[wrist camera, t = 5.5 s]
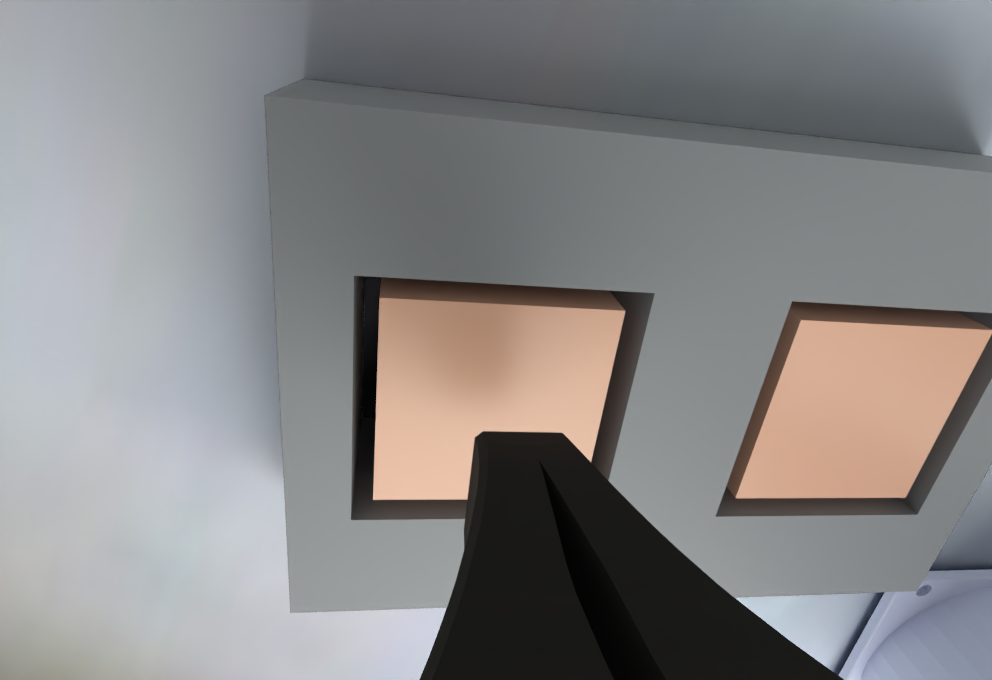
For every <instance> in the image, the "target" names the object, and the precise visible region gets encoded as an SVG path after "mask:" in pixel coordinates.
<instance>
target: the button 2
mask: <svg viewBox="0 0 992 680" xmlns="http://www.w3.org/2000/svg"><path fill="white" fill-rule="evenodd" d="M991 335H992V329H990V328H988V327H986V326H984V325H982V324H980V323H978V322H976V321H974V320H972V319H970V318H968V317H966V316H964V315H962V314H960V313H958V312H956V311H949V310H932V309H915V308H898V307H881V306H864V305H846V304H829V303H812V302H795V301H792V303H791V306H790V309H789V312H788V314H787V317H786V320H785V323H784V326H783V328H782V331H781V334H780V337H779V340H778V343H777V345H776V348H775V351H774V354H773V357H772V359H771V362H770V365H769V368H768V371H767V373H766V376H765V379H764V382H763V385H762V387H761V390H760V393H759V396H758V399H757V401H756V404H755V407H754V410H753V413H752V416H751V418H750V421H749V424H748V427H747V430H746V432H745V435H744V438H743V441H742V444H741V446H740V449H739V452H738V455H737V458H736V460H735V463H734V466H733V469H732V472H731V474H730V477H729V480H728V483H727V487H728V489H729V490H730V492H731V493H732V494H733V496H734V497H735V498H906V496H907V494H908V492H909V490H910V488H911V487H912V485H913V483H914V481H915V479H916V477H917V475H918V473H919V471H920V469H921V468H922V466H923V464H924V462H925V460H926V458H927V456H928V454H929V452H930V450H931V449H932V447H933V445H934V443H935V441H936V439H937V437H938V435H939V433H940V431H941V430H942V428H943V426H944V424H945V422H946V420H947V418H948V416H949V414H950V412H951V411H952V409H953V407H954V405H955V403H956V401H957V399H958V397H959V395H960V394H961V392H962V390H963V388H964V386H965V384H966V382H967V380H968V378H969V376H970V375H971V373H972V371H973V369H974V367H975V365H976V363H977V361H978V359H979V357H980V356H981V354H982V352H983V350H984V348H985V346H986V344H987V342H988V340H989V338H990V337H991Z"/></svg>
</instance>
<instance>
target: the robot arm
mask: <svg viewBox="0 0 992 680" xmlns="http://www.w3.org/2000/svg"><path fill="white" fill-rule="evenodd" d="M420 680H992V569H985V570H949V571H928V573H927V575H926V577H925V578H924V580H923V582H922V583H921V585H920V587H919V588H918V590H917V591H907V592H884V594H883V596H882V598H881V599H880V601H879V603H878V605H877V607H876V608H875V610H874V612H873V614H872V616H871V617H870V619H869V621H868V623H867V625H866V626H865V628H864V630H863V632H862V634H861V635H860V637H859V639H858V641H857V643H856V644H855V646H854V648H853V650H852V652H851V653H850V655H849V657H848V659H847V661H846V662H845V664H844V666H843V668H842V670H841V671H840V673H839V675H837V674H835V673H834V672H832V671H831V670H829V669H828V668H826V667H825V666H824V665H822V664H821V663H820V662H818V661H817V660H815V659H814V658H813V657H811V656H810V655H808V654H807V653H806V652H804V651H803V650H801V649H800V648H799V647H797V646H796V645H795V644H793V643H792V642H791V641H789V640H788V639H787V638H785V637H784V636H783V635H781V634H780V633H779V632H778V631H776V630H775V629H774V628H772V627H771V626H770V625H769V624H767V623H766V622H765V621H763V620H762V619H761V618H759V617H758V616H757V615H756V614H754V613H753V612H752V611H750V610H749V609H748V608H747V607H745V606H744V605H743V604H741V603H740V602H739V601H738V600H736V599H735V598H734V597H733V596H732V595H730V594H729V593H728V592H727V591H726V590H724V589H723V588H722V587H721V586H720V585H718V584H717V583H716V582H715V581H714V580H712V579H711V578H710V577H709V576H708V575H707V574H706V573H705V572H703V571H702V570H701V569H700V568H699V567H698V566H697V565H696V564H694V563H693V562H692V561H691V560H690V559H689V558H688V557H686V556H685V555H684V554H683V553H682V552H681V551H680V550H679V549H677V548H676V547H675V546H674V545H673V544H672V543H671V542H670V541H669V540H668V539H667V538H666V537H665V536H664V535H662V534H661V533H660V532H659V531H658V530H657V529H656V528H655V527H654V526H653V525H652V524H651V523H650V522H649V521H648V520H647V519H646V518H645V517H644V516H643V515H642V514H641V513H640V512H639V511H638V510H637V509H636V508H635V507H634V506H633V505H632V504H631V503H630V502H629V501H628V500H627V499H626V498H625V497H624V496H623V495H622V494H621V493H620V492H619V491H618V490H617V489H616V488H615V487H614V486H613V485H612V484H611V483H610V482H609V481H608V480H607V479H606V478H605V477H604V476H603V475H602V474H601V472H600V471H599V470H598V469H597V468H596V467H595V466H594V465H593V464H592V463H591V462H590V461H589V460H588V459H587V458H586V457H585V456H584V455H583V453H582V452H581V451H580V450H579V449H578V448H577V447H576V446H575V445H574V444H573V443H572V442H571V441H570V440H569V439H568V438H567V437H566V436H565V435H564V434H563V433H555V432H501V431H483V432H481V433H480V434H479V435H477V436H476V437H475V440H474V448H473V456H472V465H471V473H470V482H469V490H468V498H467V507H466V515H465V524H464V553H463V556H462V560H461V564H460V567H459V571H458V574H457V578H456V582H455V585H454V588H453V591H452V594H451V597H450V600H449V603H448V606H447V609H446V612H445V615H444V618H443V621H442V623H441V626H440V629H439V632H438V634H437V637H436V640H435V643H434V645H433V648H432V651H431V653H430V656H429V658H428V661H427V663H426V666H425V668H424V671H423V673H422V675H421V678H420Z"/></svg>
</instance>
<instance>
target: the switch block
mask: <svg viewBox="0 0 992 680" xmlns="http://www.w3.org/2000/svg"><path fill="white" fill-rule="evenodd" d="M265 115H266V135H267V155H268V175H269V195H270V215H271V235H272V255H273V275H274V295H275V315H276V335H277V355H278V375H279V395H280V415H281V435H282V455H283V475H284V495H285V515H286V535H287V555H288V575H289V595H290V613H302V612H331V611H360V610H389V609H417V608H446V607H447V606H448V603H449V600H450V597H451V594H452V591H453V588H454V585H455V582H456V578H457V574H458V571H459V567H460V564H461V560H462V556H463V553H464V524H465V515H466V507H467V499H456V500H373V485H374V454H375V423H376V418H362V404H363V355H364V306H365V276H370V277H387V278H404V279H421V280H438V281H455V282H472V283H489V284H506V285H523V286H540V287H557V288H574V289H591V290H608V291H610V292H611V293H612V295H613V296H614V297H615V298H616V300H617V301H618V302H619V303H620V305H621V306H622V307H623V308H624V310H625V315H624V320H623V324H622V329H621V333H620V337H619V342H618V346H617V351H616V355H615V359H614V364H613V368H612V373H611V377H610V381H609V386H608V390H607V395H606V399H605V404H604V408H603V412H602V417H601V421H600V426H599V430H598V434H597V439H596V443H595V448H594V452H593V456H592V461H591V463H592V464H593V465H594V466H595V467H596V468H597V469H598V470H599V471H600V472H601V474H602V475H603V476H604V477H605V478H606V479H607V480H608V481H609V482H610V483H611V484H612V485H613V486H614V487H615V488H616V489H617V490H618V491H619V492H620V493H621V494H622V495H623V496H624V497H625V498H626V499H627V500H628V501H629V502H630V503H631V504H632V505H633V506H634V507H635V508H636V509H637V510H638V511H639V512H640V513H641V514H642V515H643V516H644V517H645V518H646V519H647V520H648V521H649V522H650V523H651V524H652V525H653V526H654V527H655V528H656V529H657V530H658V531H659V532H660V533H661V534H662V535H664V536H665V537H666V538H667V539H668V540H669V541H670V542H671V543H672V544H673V545H674V546H675V547H676V548H677V549H679V550H680V551H681V552H682V553H683V554H684V555H685V556H686V557H688V558H689V559H690V560H691V561H692V562H693V563H694V564H696V565H697V566H698V567H699V568H700V569H701V570H702V571H703V572H705V573H706V574H707V575H708V576H709V577H710V578H711V579H712V580H714V581H715V582H716V583H717V584H718V585H720V586H721V587H722V588H723V589H724V590H726V591H727V592H728V593H729V594H730V595H732V596H733V597H763V596H791V595H820V594H849V593H878V592H907V591H917V590H918V588H919V587H920V585H921V583H922V582H923V580H924V578H925V577H926V575H927V573H928V571H929V570H930V568H931V566H932V565H933V563H934V561H935V560H936V558H937V556H938V554H939V553H940V551H941V549H942V548H943V546H944V544H945V543H946V541H947V539H948V537H949V536H950V534H951V532H952V531H953V529H954V527H955V526H956V524H957V522H958V520H959V519H960V517H961V515H962V514H963V512H964V510H965V509H966V507H967V505H968V503H969V502H970V500H971V498H972V497H973V495H974V493H975V492H976V490H977V488H978V486H979V485H980V483H981V481H982V480H983V478H984V476H985V475H986V473H987V471H988V469H989V468H990V466H991V464H992V335H991V337H990V338H989V340H988V342H987V344H986V346H985V348H984V350H983V352H982V354H981V356H980V357H979V359H978V361H977V363H976V365H975V367H974V369H973V371H972V373H971V375H970V376H969V378H968V380H967V382H966V384H965V386H964V388H963V390H962V392H961V394H960V395H959V397H958V399H957V401H956V403H955V405H954V407H953V409H952V411H951V412H950V414H949V416H948V418H947V420H946V422H945V424H944V426H943V428H942V430H941V431H940V433H939V435H938V437H937V439H936V441H935V443H934V445H933V447H932V449H931V450H930V452H929V454H928V456H927V458H926V460H925V462H924V464H923V466H922V468H921V469H920V471H919V473H918V475H917V477H916V479H915V481H914V483H913V485H912V487H911V488H910V490H909V492H908V494H907V496H906V498H735V497H734V496H733V494H732V493H731V492H730V490H729V489H728V487H727V483H728V480H729V477H730V474H731V472H732V469H733V466H734V463H735V460H736V458H737V455H738V452H739V449H740V446H741V444H742V441H743V438H744V435H745V432H746V430H747V427H748V424H749V421H750V418H751V416H752V413H753V410H754V407H755V404H756V401H757V399H758V396H759V393H760V390H761V387H762V385H763V382H764V379H765V376H766V373H767V371H768V368H769V365H770V362H771V359H772V357H773V354H774V351H775V348H776V345H777V343H778V340H779V337H780V334H781V331H782V328H783V326H784V323H785V320H786V317H787V314H788V312H789V309H790V306H791V303H792V301H795V302H812V303H829V304H846V305H864V306H881V307H898V308H915V309H932V310H949V311H956V312H958V313H960V314H962V315H964V316H966V317H968V318H970V319H972V320H974V321H976V322H978V323H980V324H982V325H984V326H986V327H988V328H990V329H992V157H990V156H986V155H978V154H969V153H960V152H951V151H942V150H933V149H924V148H915V147H906V146H897V145H888V144H880V143H871V142H862V141H853V140H844V139H835V138H826V137H817V136H808V135H799V134H790V133H781V132H772V131H764V130H755V129H746V128H737V127H728V126H719V125H710V124H701V123H692V122H683V121H674V120H665V119H656V118H648V117H639V116H630V115H621V114H612V113H603V112H594V111H585V110H576V109H567V108H558V107H549V106H541V105H532V104H523V103H514V102H505V101H496V100H487V99H478V98H469V97H460V96H451V95H442V94H433V93H425V92H416V91H407V90H398V89H389V88H380V87H371V86H362V85H353V84H344V83H335V82H326V81H317V80H309V79H302V80H299V81H297V82H295V83H292V84H290V85H288V86H285V87H283V88H281V89H278V90H276V91H274V92H271V93H269V94H267V95H265Z"/></svg>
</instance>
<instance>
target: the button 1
mask: <svg viewBox="0 0 992 680" xmlns="http://www.w3.org/2000/svg"><path fill="white" fill-rule="evenodd" d="M624 315H625V310H624V308H623V307H622V306H621V305H620V303H619V302H618V301H617V300H616V298H615V297H614V296H613V295H612V293H611V292H610V291H608V290H591V289H574V288H557V287H540V286H523V285H506V284H489V283H472V282H455V281H438V280H421V279H404V278H387V277H381V287H380V298H379V329H378V360H377V392H376V423H375V454H374V485H373V500H456V499H467V498H468V490H469V482H470V473H471V465H472V456H473V448H474V440H475V437H476V436H477V435H479V434H480V433H481V432H483V431H501V432H555V433H563V434H564V435H565V436H566V437H567V438H568V439H569V440H570V441H571V442H572V443H573V444H574V445H575V446H576V447H577V448H578V449H579V450H580V451H581V452H582V453H583V455H584V456H585V457H586V458H587V459H588V460H589V461H590V462H591V461H592V456H593V452H594V448H595V443H596V439H597V434H598V430H599V426H600V421H601V417H602V412H603V408H604V404H605V399H606V395H607V390H608V386H609V381H610V377H611V373H612V368H613V364H614V359H615V355H616V351H617V346H618V342H619V337H620V333H621V329H622V324H623V320H624Z"/></svg>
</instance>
